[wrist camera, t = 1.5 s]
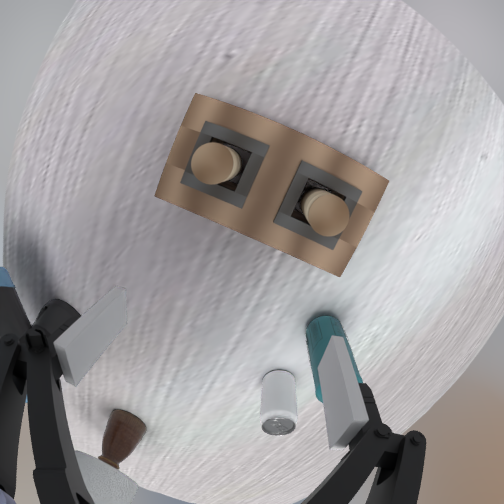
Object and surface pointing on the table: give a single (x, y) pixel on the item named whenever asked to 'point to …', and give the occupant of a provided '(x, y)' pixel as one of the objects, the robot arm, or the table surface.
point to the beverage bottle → (324, 346)
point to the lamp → (112, 460)
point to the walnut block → (270, 183)
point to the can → (278, 403)
